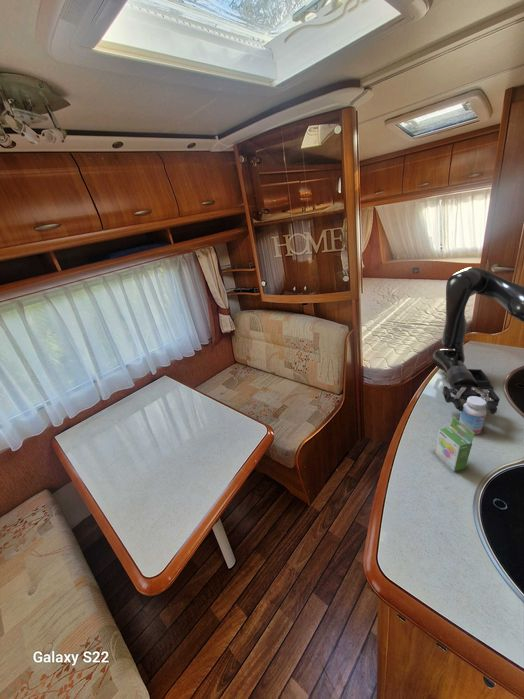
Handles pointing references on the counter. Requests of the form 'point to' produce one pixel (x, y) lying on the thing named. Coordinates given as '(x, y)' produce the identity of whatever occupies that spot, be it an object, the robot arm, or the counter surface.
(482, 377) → the socket pad
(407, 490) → the counter surface
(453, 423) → the ink box
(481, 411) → the pill bottle
